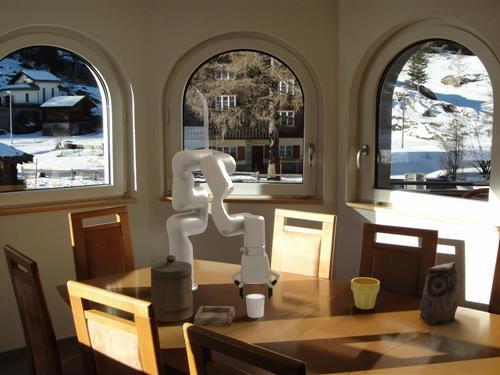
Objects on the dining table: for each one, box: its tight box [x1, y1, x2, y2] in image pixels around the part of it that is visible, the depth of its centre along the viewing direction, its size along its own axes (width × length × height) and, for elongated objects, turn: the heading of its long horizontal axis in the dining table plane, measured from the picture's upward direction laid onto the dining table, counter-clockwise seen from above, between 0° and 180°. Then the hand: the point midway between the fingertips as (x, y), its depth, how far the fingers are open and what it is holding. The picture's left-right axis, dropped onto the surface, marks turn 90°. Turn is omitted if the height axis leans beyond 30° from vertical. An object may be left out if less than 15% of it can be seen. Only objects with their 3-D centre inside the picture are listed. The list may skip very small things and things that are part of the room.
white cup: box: [245, 293, 266, 319], centre depth 199 cm, size 7×7×7 cm
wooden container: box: [150, 254, 194, 323], centre depth 200 cm, size 15×15×22 cm
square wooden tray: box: [192, 305, 236, 327], centre depth 196 cm, size 13×13×2 cm
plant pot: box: [350, 277, 381, 310], centre depth 206 cm, size 10×10×10 cm
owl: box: [419, 261, 459, 327], centre depth 190 cm, size 13×13×20 cm
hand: (256, 297), depth 198 cm, fingers open, 9 cm apart
